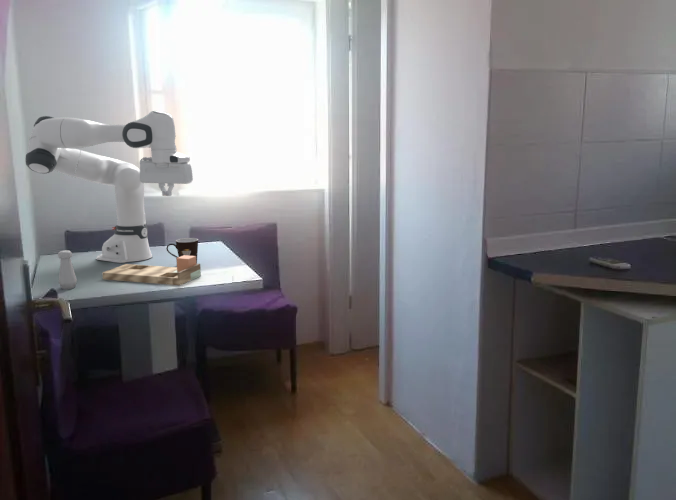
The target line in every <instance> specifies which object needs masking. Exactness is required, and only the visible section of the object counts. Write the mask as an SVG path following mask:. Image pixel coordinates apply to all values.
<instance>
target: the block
mask: <svg viewBox="0 0 676 500" xmlns="http://www.w3.org/2000/svg"><path fill="white" fill-rule="evenodd" d="M177 257H178V258H176V257H175V258H176V260H175V261H176V267H177V272H180V271H182V270H185V269H187V268H189V267H192V266H194V265H196V256H188V255H183V256H181V257H179V256H177Z"/></svg>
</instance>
